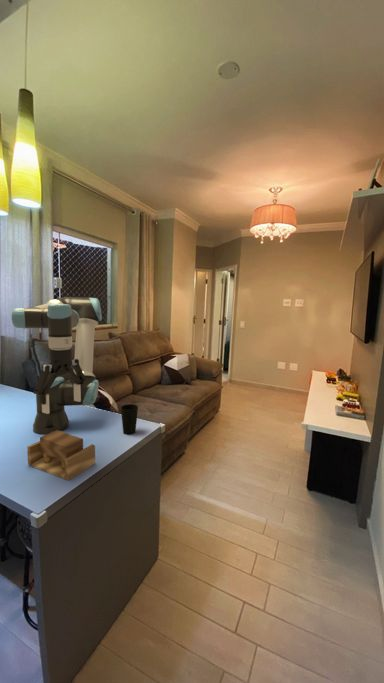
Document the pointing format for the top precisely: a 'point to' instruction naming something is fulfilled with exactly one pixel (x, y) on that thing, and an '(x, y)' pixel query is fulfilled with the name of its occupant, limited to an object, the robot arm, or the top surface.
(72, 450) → the brown wooden block
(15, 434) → the top surface
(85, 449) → the stand
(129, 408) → the cup
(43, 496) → the top surface
